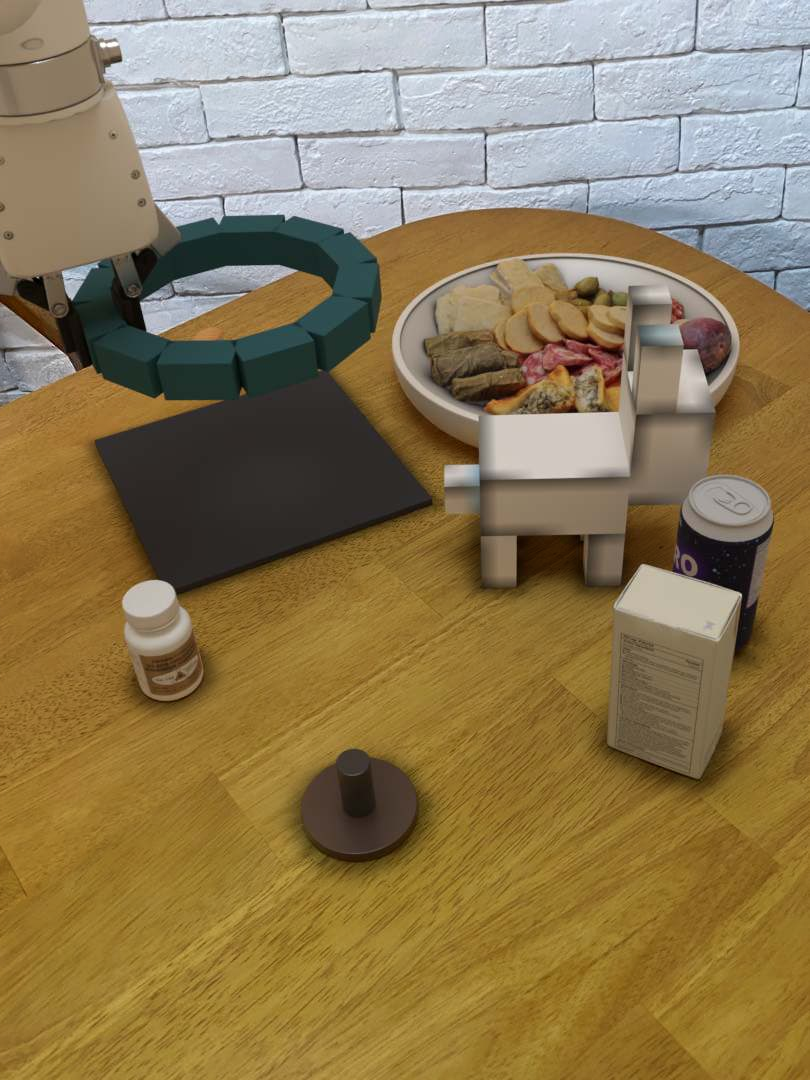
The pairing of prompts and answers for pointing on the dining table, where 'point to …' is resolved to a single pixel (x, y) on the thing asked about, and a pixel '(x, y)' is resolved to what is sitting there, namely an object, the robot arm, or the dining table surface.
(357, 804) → the ring stand
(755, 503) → the beverage can
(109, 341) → the ring
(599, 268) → the bowl
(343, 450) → the mat
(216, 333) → the sushi
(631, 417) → the toy llama
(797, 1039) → the dining table surface
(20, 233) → the robot arm
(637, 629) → the cosmetic box
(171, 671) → the pill bottle
